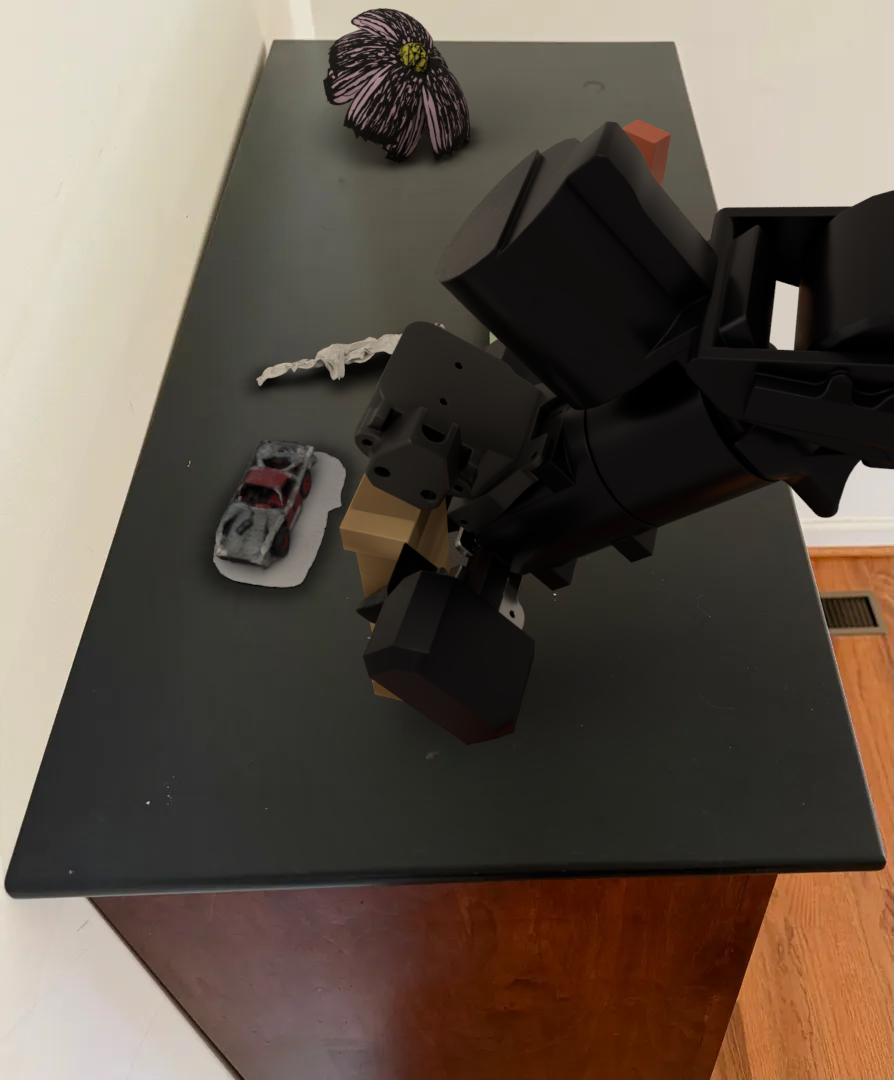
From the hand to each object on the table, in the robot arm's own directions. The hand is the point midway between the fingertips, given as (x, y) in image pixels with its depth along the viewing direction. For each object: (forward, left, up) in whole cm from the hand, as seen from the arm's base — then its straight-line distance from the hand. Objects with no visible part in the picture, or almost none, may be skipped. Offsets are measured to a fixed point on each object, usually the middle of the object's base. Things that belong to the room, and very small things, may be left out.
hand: (381, 570), depth 44 cm
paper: (+15, -24, -12) cm, 30 cm away
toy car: (+13, -9, -12) cm, 20 cm away
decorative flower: (+26, -58, -12) cm, 65 cm away
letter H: (-1, -37, -11) cm, 39 cm away
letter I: (-1, 0, -7) cm, 7 cm away
